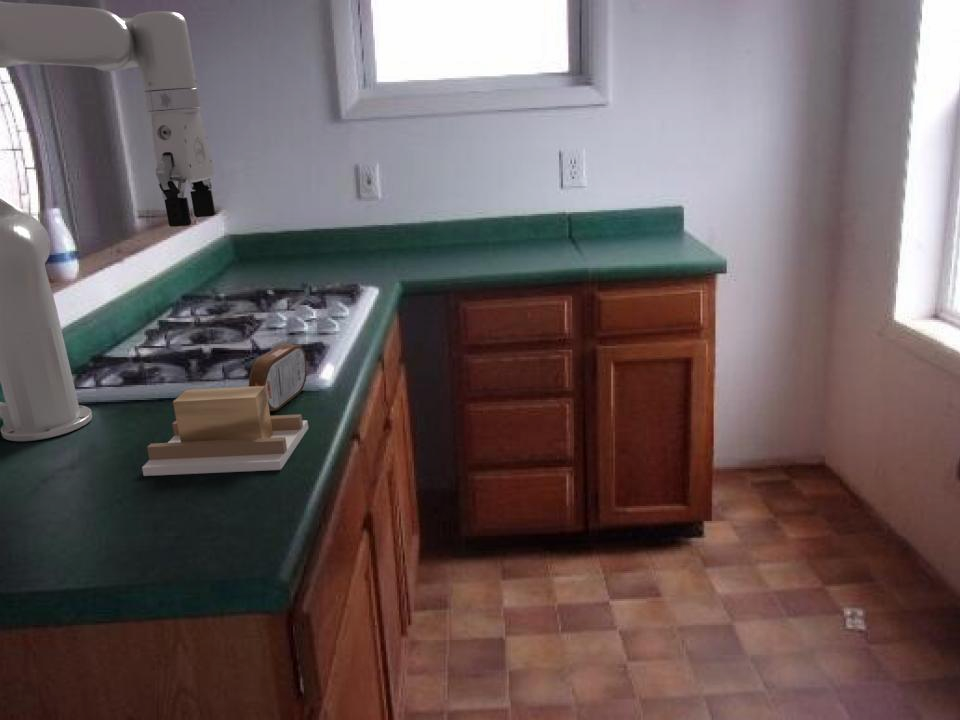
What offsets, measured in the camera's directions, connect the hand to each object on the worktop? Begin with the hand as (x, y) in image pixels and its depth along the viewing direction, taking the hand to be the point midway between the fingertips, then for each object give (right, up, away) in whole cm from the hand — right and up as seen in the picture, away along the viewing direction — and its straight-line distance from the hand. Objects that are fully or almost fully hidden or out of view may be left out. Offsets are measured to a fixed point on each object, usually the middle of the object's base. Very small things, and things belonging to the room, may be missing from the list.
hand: (193, 220), depth 131 cm
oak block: (+10, -32, -14) cm, 37 cm away
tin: (+13, -28, +4) cm, 31 cm away
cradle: (+10, -33, -14) cm, 38 cm away
